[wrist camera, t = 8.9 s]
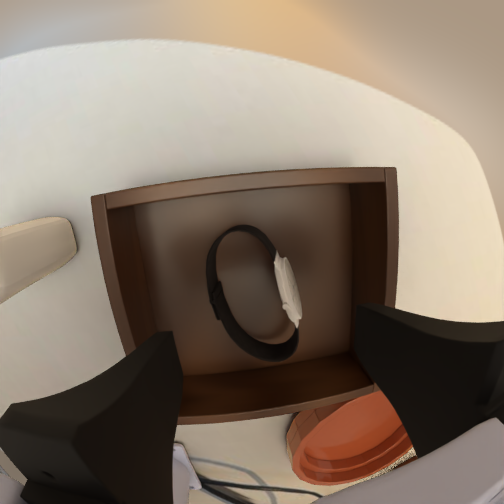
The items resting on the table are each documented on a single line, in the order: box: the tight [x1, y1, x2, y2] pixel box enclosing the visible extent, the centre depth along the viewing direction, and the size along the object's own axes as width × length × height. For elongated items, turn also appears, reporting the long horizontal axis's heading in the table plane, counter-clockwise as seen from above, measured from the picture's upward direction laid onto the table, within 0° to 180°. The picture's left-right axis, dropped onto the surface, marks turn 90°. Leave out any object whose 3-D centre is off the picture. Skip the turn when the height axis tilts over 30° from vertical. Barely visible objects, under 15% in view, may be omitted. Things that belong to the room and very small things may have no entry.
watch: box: [206, 225, 302, 362], centre depth 14 cm, size 8×5×4 cm, turn 20°
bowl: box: [286, 391, 413, 486], centre depth 19 cm, size 13×13×3 cm
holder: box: [91, 167, 399, 425], centre depth 14 cm, size 13×12×4 cm
